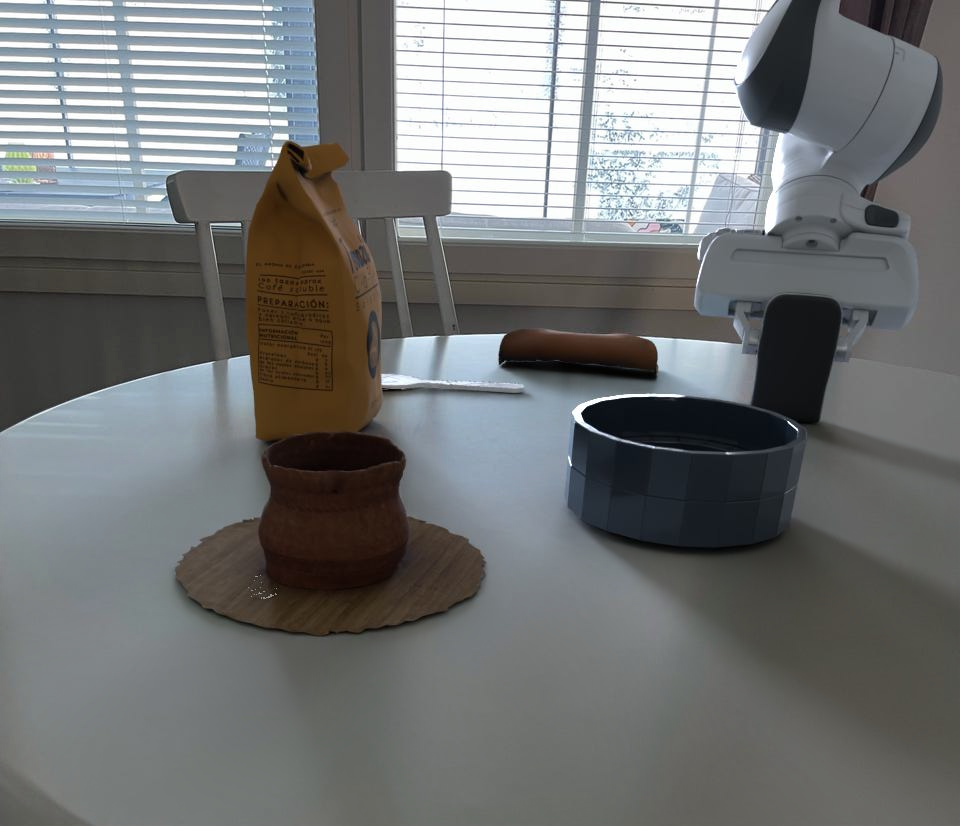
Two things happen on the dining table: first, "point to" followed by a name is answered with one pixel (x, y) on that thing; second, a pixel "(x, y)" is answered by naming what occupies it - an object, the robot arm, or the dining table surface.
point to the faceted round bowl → (683, 469)
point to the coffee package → (311, 302)
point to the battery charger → (796, 354)
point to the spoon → (446, 384)
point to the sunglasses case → (579, 349)
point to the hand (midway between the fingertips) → (795, 354)
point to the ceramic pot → (331, 545)
